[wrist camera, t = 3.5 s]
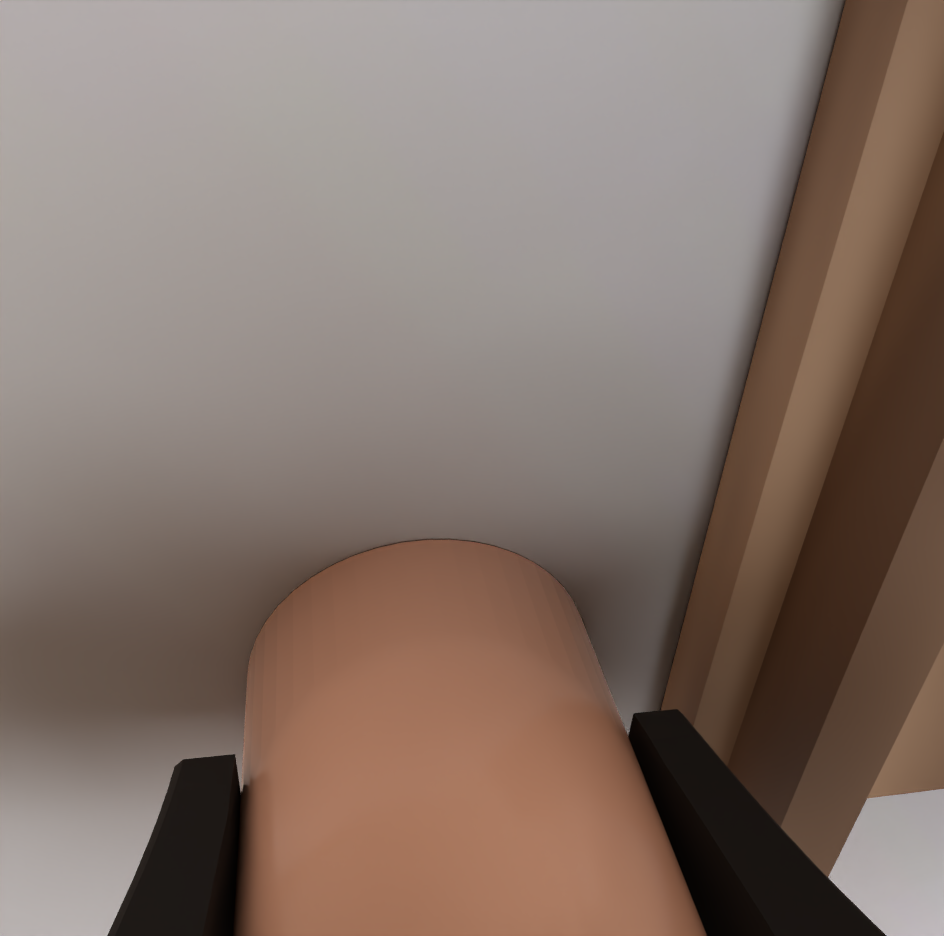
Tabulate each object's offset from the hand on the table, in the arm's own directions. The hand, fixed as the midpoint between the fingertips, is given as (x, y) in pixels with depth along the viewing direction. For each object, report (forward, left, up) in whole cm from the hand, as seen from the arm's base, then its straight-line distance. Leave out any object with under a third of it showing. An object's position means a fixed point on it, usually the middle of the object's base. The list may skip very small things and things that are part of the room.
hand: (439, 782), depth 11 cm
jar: (0, 0, -2) cm, 2 cm away
